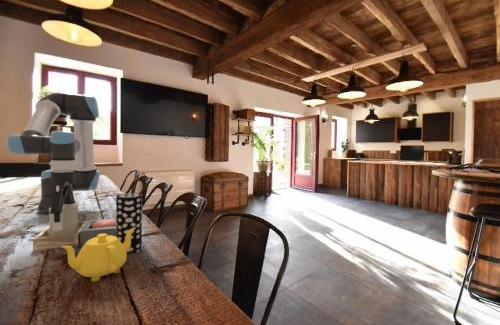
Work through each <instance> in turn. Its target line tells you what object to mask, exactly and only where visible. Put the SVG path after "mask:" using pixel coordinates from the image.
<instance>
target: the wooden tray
mask: <svg viewBox="0 0 500 325" xmlns="http://www.w3.org/2000/svg"><path fill="white" fill-rule="evenodd" d="M87 221H88V220H82V221H81V220H80V221H79V220H78V232H77V233H76V234H74V235H63V236H53V237H49V225H47V227H45V229H43V230H42V231H41V232H40V233H38V234H37V235H36V236H35V237H34V238H33V239H32V251H39V250H40V251H41V250H48V249H59V248H62V247H61V246H72V247H77V246H79V245H80V231H81V230H82V228H83V227H84V225H85V224H86V223H87Z"/></svg>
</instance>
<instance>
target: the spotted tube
mask: <svg viewBox="0 0 500 325" xmlns="http://www.w3.org/2000/svg"><path fill="white" fill-rule="evenodd" d="M115 199H116V200H115V203H116V204H115V212H116V213H115V218H116V237H117V238H118V239H119V240H120V242H121V243H122V244H123V243H124V241H125V238H126V234H127V232H128V231H129V230H130V229H132V228H134V227H136V228H135V229H134V230H133V232H132V234H131V246H130V249H129V250H128V252H127V253H126V254H127V255H132V254H135V253H138V252H140V251H141V250H142V248H143V247H142V246H143V245H142V244H143V242H142V241H143V240H142V239H143V238H142V237H143V194H142V193H137V192H134V193H133V192H129V193H122V194H121V193H120V194H117V195H116V198H115Z"/></svg>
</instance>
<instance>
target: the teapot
mask: <svg viewBox="0 0 500 325" xmlns="http://www.w3.org/2000/svg"><path fill="white" fill-rule="evenodd" d="M135 228H136V227H134V228H132V229H130V230H129V231H128V232H127V234H126V238H125V241H124V243H123V244H122V243H121V242H120V240H119V239H118V238H117V237H115V236H111V235H107V234H105V233H103V234H99V235H97V237H95V238H92V239H90V240H88V241H87V242H86V243H85V244H83V245H82V247H81V249H80V250H79V252H78V254H77V255H76V254H75V249H74V246H61V247H60V248H63V249H65V250H66V253H67V263H68V266H70V268H72V269H74V270H75V271H76V272H77V273H78V274H79V275H81V276H83V277H85V278H91V279H90V282H92V283H96V282H99V281H100V280H101V279H102V278H101V277H104V276H108V275H111V274H114V275H116V274H119V273H121V271H122V270H121V267H122V266H123V265H124V264H125V263H126V261H127V258H128V257H127V255H128V254H126V253H127V252H128V250H129V249H130V246H131V234H132V232H133V230H134V229H135Z"/></svg>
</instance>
